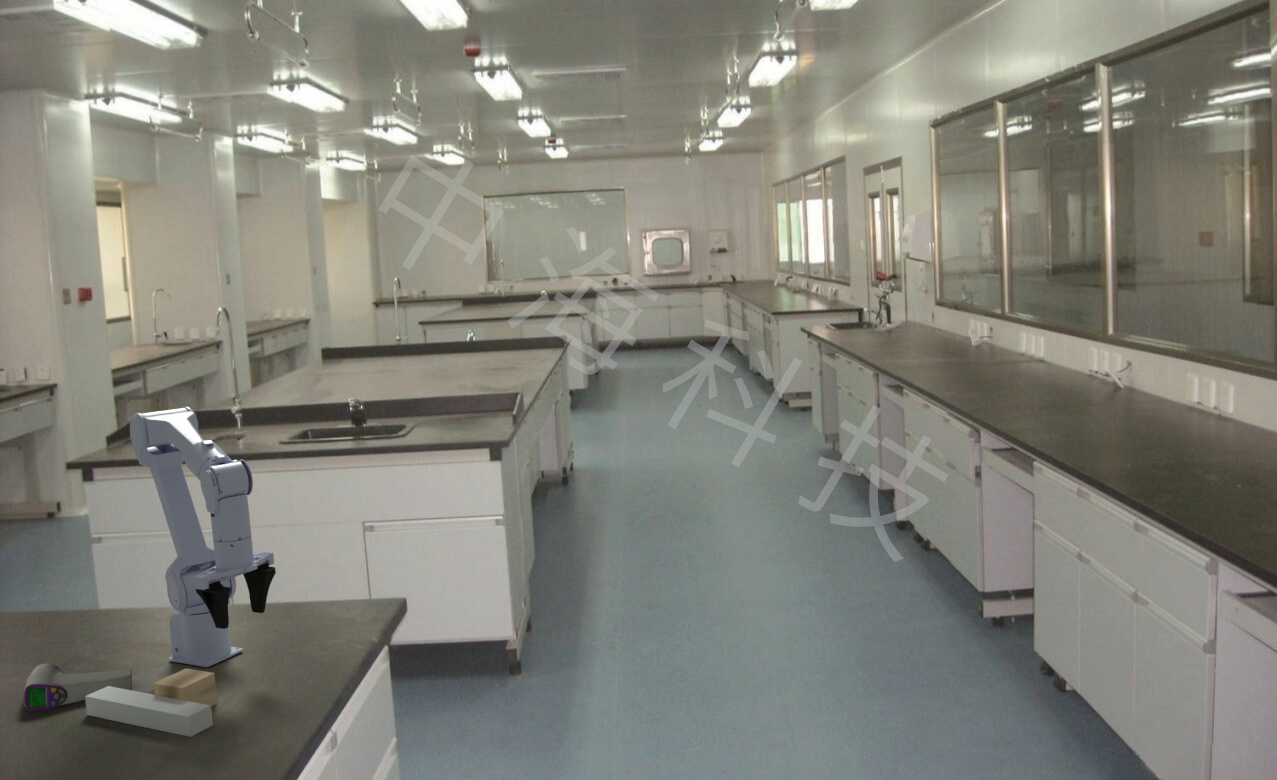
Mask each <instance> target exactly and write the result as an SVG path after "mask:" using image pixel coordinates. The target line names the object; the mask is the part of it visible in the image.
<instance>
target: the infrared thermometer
mask: <svg viewBox="0 0 1277 780" xmlns="http://www.w3.org/2000/svg"><path fill="white" fill-rule="evenodd" d="M132 673H133V671H132V669H124V670H115V671H114V670H112V671H94V672H86V673H72V674H71V673H68V674H67V673H65V674H64V672H63V671H62V669H61V668H60V667H59V666H57V665H56V664H53V663H41V664H39V665H37V666H36V667H35V668H33V670H32V672H31V674H30V675H29V676H28V677H27V678H26V681H25V686H24V689H23V703H24V708H25V709H26V710H27V712H36V711H43V710H49V709H54V708H57V707H60V706H64V705H69V704H74V703H79V702H82V701H86V700H85V696H87V695H89V694H91V693H94V692H96V691H98V690H100V689H103V688H105V687H107V686H111V687H116V688H121V689H127V690H132V691H133V674H132Z"/></svg>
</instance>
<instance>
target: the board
mask: <svg viewBox="0 0 1277 780" xmlns="http://www.w3.org/2000/svg"><path fill="white" fill-rule="evenodd" d="M84 701H85V707H86V715H87V716H90V717H94V718H95V717H96V718H99V719H104V720H108V721H109V720H110V721H114V722H118V723H122V724H127V725H132V726H136V727H141V728H145V729H152V730H156V731H161V732H167V733H170V734H175V735H180V736H184V737H189V738H191V737H194V736H196V735H197V734H199V733H201V732H203V731H205V730H207V729H208V728H211V727H213V725H214V724H213V723H214V721H213V713H212V707H211V705H205V704H200V703H195V702H190V701H184V700H179V699H174V698H169V697H163V696H158V695H155V694H153V693H147V692H142V691H136V690H133V689H132V690H127V689H121V688H116V687H111V686H107V687H105V688H103V689H100V690H98V691H96V692H94V693H91V694H89V695H87V696H85V700H84Z"/></svg>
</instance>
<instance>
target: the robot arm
mask: <svg viewBox="0 0 1277 780" xmlns="http://www.w3.org/2000/svg"><path fill="white" fill-rule="evenodd" d="M129 436H130V440H131V444H132V448H133V450H134V454H135V457H136V459H137V461H138V464H139V465H141V466H143V467H146V468H148V469H149V470H150V474H151V476H152V479H153V481H154V484H155V485H154V486H155V488H156V491H157V495H158V497H159V501H160V505H161V507H162V509H163V510H162V511H163V514H164V517H165V520H166V523H167V527H168V530H169V534H170V536H171V539H172V543H173V546H174V549H175V550H174V551H176V552H175V553H176V558H175V559H174V560H173V561H172V562H171V564H170V565H169V566H168V567H167V569H166V571H165V575H164V578H165V583H166V592H167V598H168V602H169V603H170V606H171V607H172V609H174V611H173V612H172V614H171V616H170V619H169V624H168V625H169V627H168V628H169V634H170V644H171V651H172V652H171V654H172V656H170V657H169V658H168V662H172V663H180V664H185V665H191V666H196V667H202V668H209V667H211V666H214V665H216V664H218V663H220V662H223V661H224V660H227V659H229V658H231V657H233V656H235V655H238V654H240V653H242V652H243V650H244V649H243V648H242V647H238V646H237V647H235V646H232V643H231V635H230V626H229V625H230V624H229V623H230V622H229V621H230V619H229V605H230V604H231V599H233V597H234V596H235V594H236V591H237V579H236V577H238V576H241V575H242V576H243V578H244V580H245V583H246V587H247V589H248V595H249V596H248V597H249V600H250V601H249V603H250V607H251V611H252V613H257V614H262V613H265V611H266V607H267V606H266V604H267V599H268V594H269V590H270V586H271V584H272V582H273V579H274V577H275V575H276V574H277V572H276V571H277V570H276V567H274V566H272V565H274V564H275V559H274V552H271V551H263V552H259V553H257V554H254V549H253V548H254V547H253V539H252V530H251V518H250V511H249V510H250V509H249V499H248V498H249V497H248V496H250V495H251V493H252V492H253V485H254V482H253V474H252V471H251V468H250V466H249V465H248V463H247V462H246V461H245V459H231V457H229V455H227V453H225V452H224V450H223V449H222V448H221V447H220V446H219V445H218V443H215V442H214V441H212V440H211V439H210V440H209V439H208V440H205V439H204V437H202V435H201V434H200V433H199V421H198V418H197V414H196V413H195V411H194V410H193V409H192V408H191V407H189V406H183V407H181V408H179V407H178V408H174V409H167V410H166V409H163V410H158V411H151V412H150V411H149V412H136V413H134V414H133V415H132V416H131V418H130V422H129ZM183 463H185V465H186V467H187V468H188V469H189V470H190V472H191V473H192V474H193V475H194V477H196V478H197V479H198V480H199V481H200V482H199V483H200V489H201V492H202V495H203V498H204V502H205V508H206V510H207V512H208V513H210V524H211V531H212V532H211V533H212V541H213V542H212V543H213V549H212V548H210V547H208V546H207V543H206V540H205V537H204V533H203V531H202V530H203V529H202V527H201V523H200V521H199V518H198V515H197V511H196V507H195V506H194V502H193V499H192V496H191V492H190V489H189V486H188V483H187V479H186V476H185V473H184V470H183V467H182V465H183Z"/></svg>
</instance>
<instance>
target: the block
mask: <svg viewBox="0 0 1277 780" xmlns="http://www.w3.org/2000/svg"><path fill="white" fill-rule="evenodd" d="M153 691H154V695H158V696H163V697H169V698H174V699H179V700H184V701H190V702H195V703H200V704H205V705H211V708H212V707H213V706H215V705H217V704H218V698H217V687H216V677H215V672H210V671H204V670H198V669H192V668H187V667H186V668H184V669H181V670H179V671H177V672H175V673H173V674H171V675H169V676H166V677H164V678H162V679H159V680H157V681H155V682H153Z"/></svg>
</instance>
